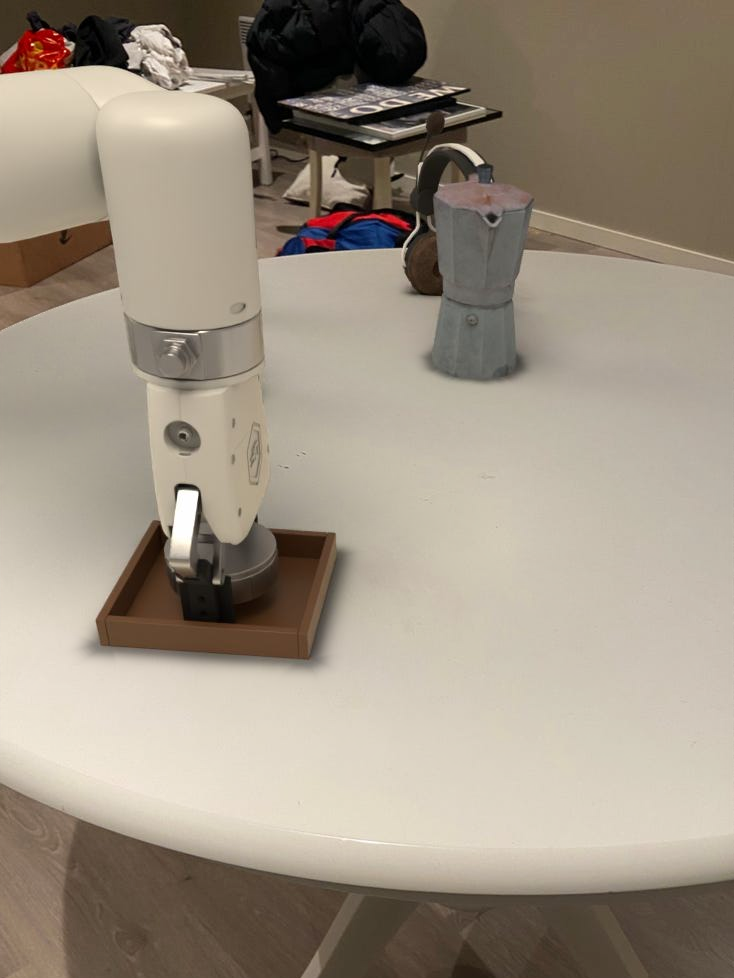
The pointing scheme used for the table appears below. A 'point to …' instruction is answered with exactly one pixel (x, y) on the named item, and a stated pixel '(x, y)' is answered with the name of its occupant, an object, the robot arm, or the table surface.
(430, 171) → the headset
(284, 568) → the tray
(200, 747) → the table surface
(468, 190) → the moka pot
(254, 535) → the lid
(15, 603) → the table surface
